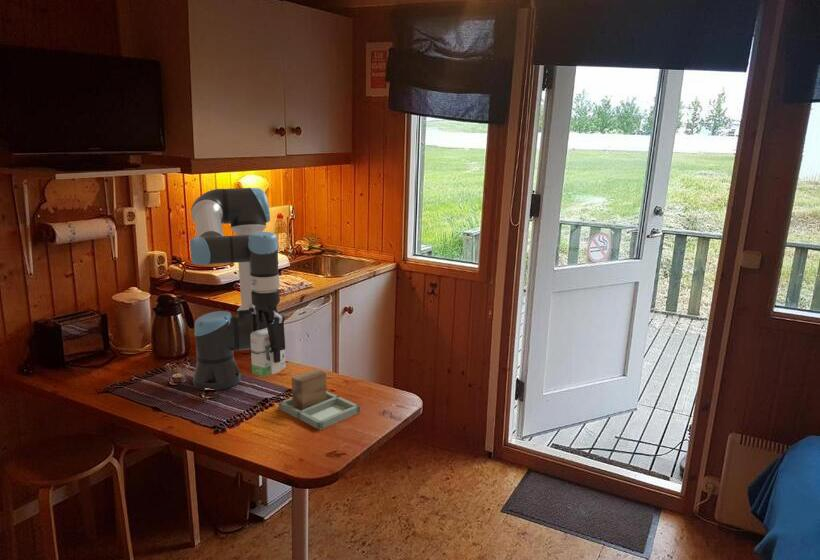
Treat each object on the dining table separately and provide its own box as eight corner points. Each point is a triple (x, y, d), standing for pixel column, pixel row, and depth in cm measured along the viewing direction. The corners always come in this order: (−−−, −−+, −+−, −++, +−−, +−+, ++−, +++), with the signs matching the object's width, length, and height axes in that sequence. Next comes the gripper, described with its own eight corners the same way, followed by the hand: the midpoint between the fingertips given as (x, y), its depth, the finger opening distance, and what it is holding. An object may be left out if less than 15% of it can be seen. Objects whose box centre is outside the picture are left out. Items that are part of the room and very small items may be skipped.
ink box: (263, 377, 164) (261, 336, 161) (251, 373, 167) (248, 333, 164) (286, 367, 171) (284, 328, 168) (274, 364, 174) (272, 325, 171)
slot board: (279, 411, 181) (278, 402, 180) (318, 395, 192) (318, 387, 191) (320, 432, 168) (319, 423, 167) (360, 414, 179) (359, 405, 178)
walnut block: (292, 408, 181) (291, 377, 179) (316, 398, 187) (315, 368, 185) (303, 413, 178) (302, 381, 175) (326, 403, 184) (325, 373, 182)
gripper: (234, 286, 167) (239, 364, 172) (273, 298, 155) (277, 382, 160) (257, 281, 172) (261, 357, 178) (297, 293, 160) (300, 374, 165)
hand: (269, 369), depth 169 cm, fingers closed on ink box, 5 cm apart
